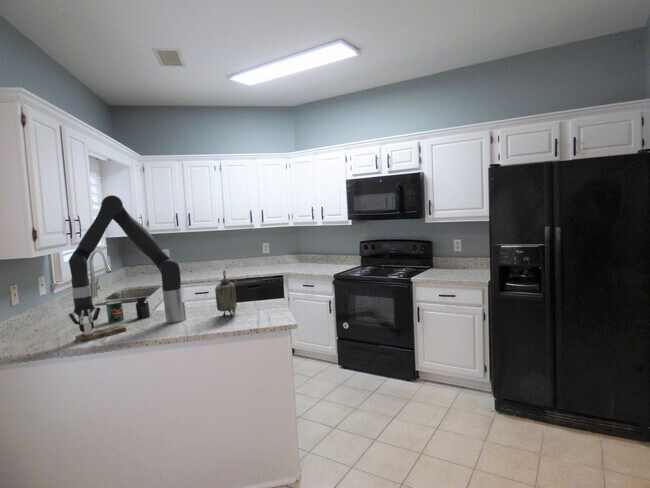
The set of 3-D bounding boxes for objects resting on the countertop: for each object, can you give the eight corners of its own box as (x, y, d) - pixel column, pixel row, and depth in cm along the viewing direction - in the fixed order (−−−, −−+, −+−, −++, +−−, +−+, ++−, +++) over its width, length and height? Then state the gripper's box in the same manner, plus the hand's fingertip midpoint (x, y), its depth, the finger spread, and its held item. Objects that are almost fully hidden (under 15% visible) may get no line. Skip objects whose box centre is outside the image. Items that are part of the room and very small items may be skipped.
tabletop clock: (235, 318, 203) (230, 271, 201) (218, 320, 202) (213, 273, 200) (237, 311, 217) (233, 267, 215) (221, 313, 216) (216, 269, 214)
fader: (88, 332, 190) (87, 321, 190) (93, 334, 185) (91, 322, 185) (81, 334, 188) (80, 322, 187) (86, 336, 183) (84, 324, 183)
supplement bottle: (152, 315, 225) (149, 295, 224) (147, 318, 218) (144, 297, 217) (140, 316, 225) (137, 296, 224) (135, 319, 218) (132, 298, 217)
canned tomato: (117, 323, 213) (114, 303, 212) (105, 323, 215) (102, 304, 214) (127, 319, 221) (124, 300, 220) (115, 319, 222) (112, 300, 221)
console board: (119, 328, 202) (119, 324, 201) (126, 330, 196) (125, 326, 195) (75, 339, 187) (75, 335, 187) (81, 343, 181) (81, 338, 181)
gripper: (95, 292, 193) (100, 325, 194) (63, 298, 182) (68, 333, 184) (101, 293, 188) (105, 327, 189) (67, 299, 177) (72, 336, 179)
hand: (87, 330), depth 186 cm, fingers closed on fader, 3 cm apart
